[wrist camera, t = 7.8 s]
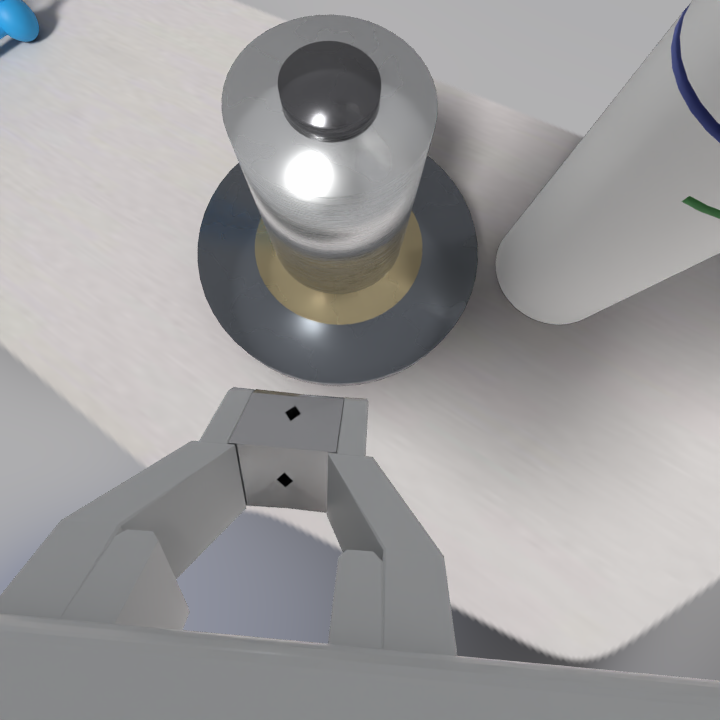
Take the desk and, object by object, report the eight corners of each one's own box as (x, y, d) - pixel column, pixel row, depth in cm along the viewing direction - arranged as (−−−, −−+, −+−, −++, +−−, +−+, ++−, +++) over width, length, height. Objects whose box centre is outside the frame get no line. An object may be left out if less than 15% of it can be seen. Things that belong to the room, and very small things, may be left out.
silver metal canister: (391, 170, 20) (420, -14, 12) (412, 285, 19) (462, 169, 11) (267, 183, 20) (207, 2, 12) (279, 302, 19) (222, 195, 10)
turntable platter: (442, 129, 22) (447, 112, 21) (496, 363, 20) (505, 359, 18) (197, 156, 22) (188, 140, 20) (217, 405, 19) (208, 404, 18)
